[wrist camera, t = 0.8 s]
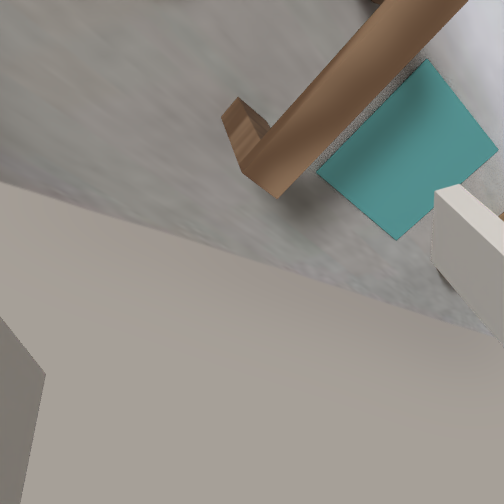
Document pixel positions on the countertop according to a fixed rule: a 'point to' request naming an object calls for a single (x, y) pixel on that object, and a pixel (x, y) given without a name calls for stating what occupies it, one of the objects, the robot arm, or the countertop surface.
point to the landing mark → (408, 152)
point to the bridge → (334, 93)
